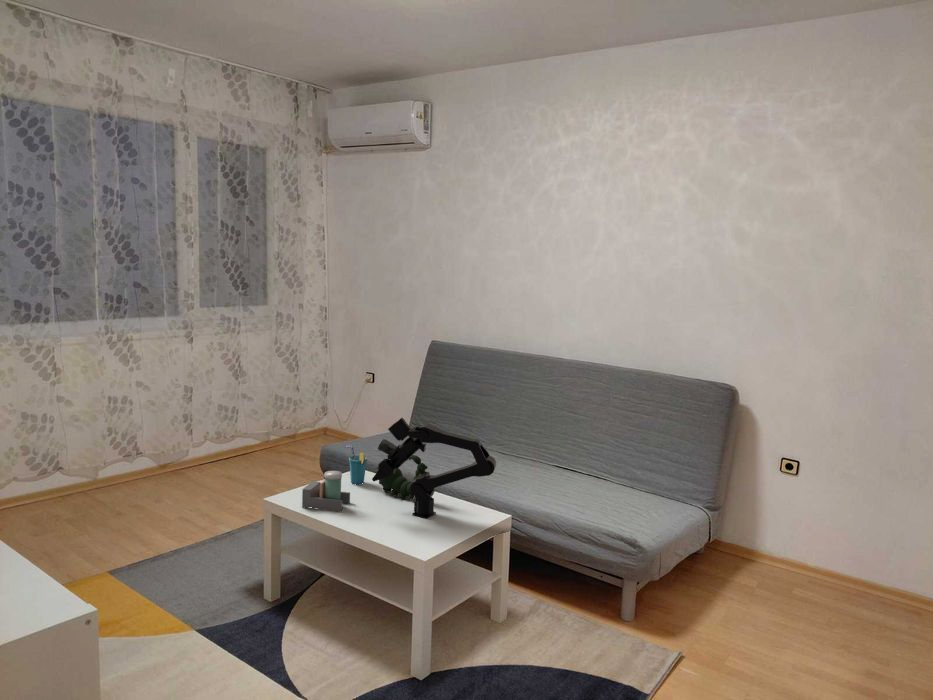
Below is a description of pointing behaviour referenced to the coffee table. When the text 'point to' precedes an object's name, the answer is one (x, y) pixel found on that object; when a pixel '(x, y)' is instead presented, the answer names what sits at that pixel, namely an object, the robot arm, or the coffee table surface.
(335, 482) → the jar
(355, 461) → the cup
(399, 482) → the toy figurine
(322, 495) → the pusher plate
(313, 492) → the pusher lane
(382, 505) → the coffee table surface
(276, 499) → the coffee table surface
